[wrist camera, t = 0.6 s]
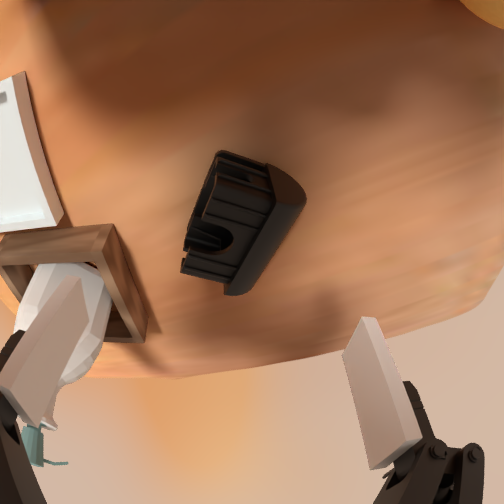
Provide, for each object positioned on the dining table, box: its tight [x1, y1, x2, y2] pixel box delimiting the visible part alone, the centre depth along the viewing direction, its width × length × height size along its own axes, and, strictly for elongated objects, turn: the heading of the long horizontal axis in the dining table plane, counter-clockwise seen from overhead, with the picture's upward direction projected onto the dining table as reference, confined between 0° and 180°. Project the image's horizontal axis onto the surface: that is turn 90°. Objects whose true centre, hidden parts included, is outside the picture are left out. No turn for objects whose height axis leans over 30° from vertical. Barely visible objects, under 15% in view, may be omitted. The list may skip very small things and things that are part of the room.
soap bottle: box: [13, 262, 113, 467], centre depth 24 cm, size 10×10×23 cm
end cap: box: [180, 150, 307, 296], centre depth 25 cm, size 10×7×7 cm
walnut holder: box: [0, 224, 148, 343], centre depth 31 cm, size 15×15×4 cm
